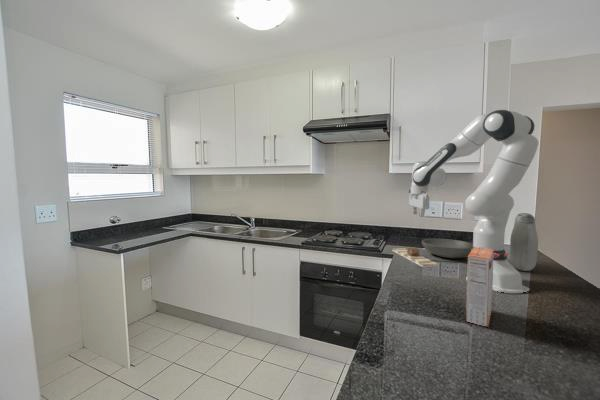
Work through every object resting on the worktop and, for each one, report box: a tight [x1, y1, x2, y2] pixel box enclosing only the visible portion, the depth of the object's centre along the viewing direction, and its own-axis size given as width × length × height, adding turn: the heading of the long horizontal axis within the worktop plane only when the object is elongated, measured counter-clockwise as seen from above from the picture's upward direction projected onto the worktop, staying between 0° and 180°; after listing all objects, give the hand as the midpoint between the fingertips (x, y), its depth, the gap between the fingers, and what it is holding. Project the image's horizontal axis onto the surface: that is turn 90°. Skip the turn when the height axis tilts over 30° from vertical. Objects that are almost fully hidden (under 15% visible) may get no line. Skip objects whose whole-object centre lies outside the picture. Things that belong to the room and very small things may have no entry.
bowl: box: [421, 238, 473, 260], centre depth 156 cm, size 27×28×8 cm
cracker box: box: [465, 247, 494, 328], centre depth 85 cm, size 14×6×21 cm, turn 141°
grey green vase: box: [509, 212, 539, 272], centre depth 131 cm, size 10×10×28 cm
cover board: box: [392, 246, 438, 267], centre depth 153 cm, size 33×8×5 cm, turn 7°
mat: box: [391, 249, 440, 267], centre depth 154 cm, size 34×10×1 cm, turn 7°
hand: (418, 215), depth 152 cm, fingers open, 8 cm apart
